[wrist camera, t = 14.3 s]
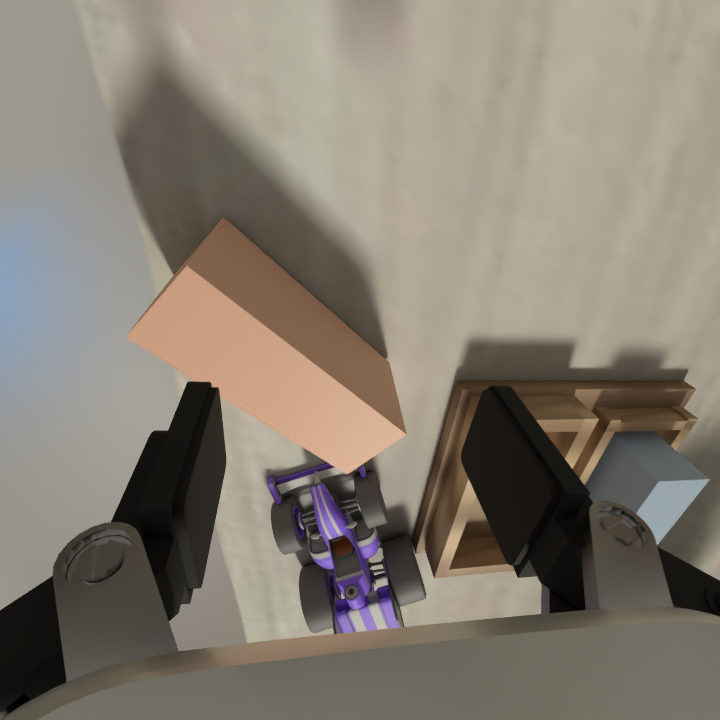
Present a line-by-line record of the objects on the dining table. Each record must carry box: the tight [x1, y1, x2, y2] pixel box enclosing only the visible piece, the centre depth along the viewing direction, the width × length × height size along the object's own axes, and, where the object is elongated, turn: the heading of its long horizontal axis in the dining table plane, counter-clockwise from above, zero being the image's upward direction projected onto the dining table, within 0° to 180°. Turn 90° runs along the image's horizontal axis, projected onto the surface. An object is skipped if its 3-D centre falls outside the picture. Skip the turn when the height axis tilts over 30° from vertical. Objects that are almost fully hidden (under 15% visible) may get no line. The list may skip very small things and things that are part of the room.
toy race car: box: [268, 463, 426, 634], centre depth 29 cm, size 10×15×6 cm, turn 15°
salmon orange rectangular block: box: [126, 217, 406, 474], centre depth 19 cm, size 12×4×6 cm, turn 43°
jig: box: [412, 381, 698, 578], centre depth 30 cm, size 17×18×4 cm
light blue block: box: [585, 431, 710, 545], centre depth 30 cm, size 10×4×5 cm, turn 173°
